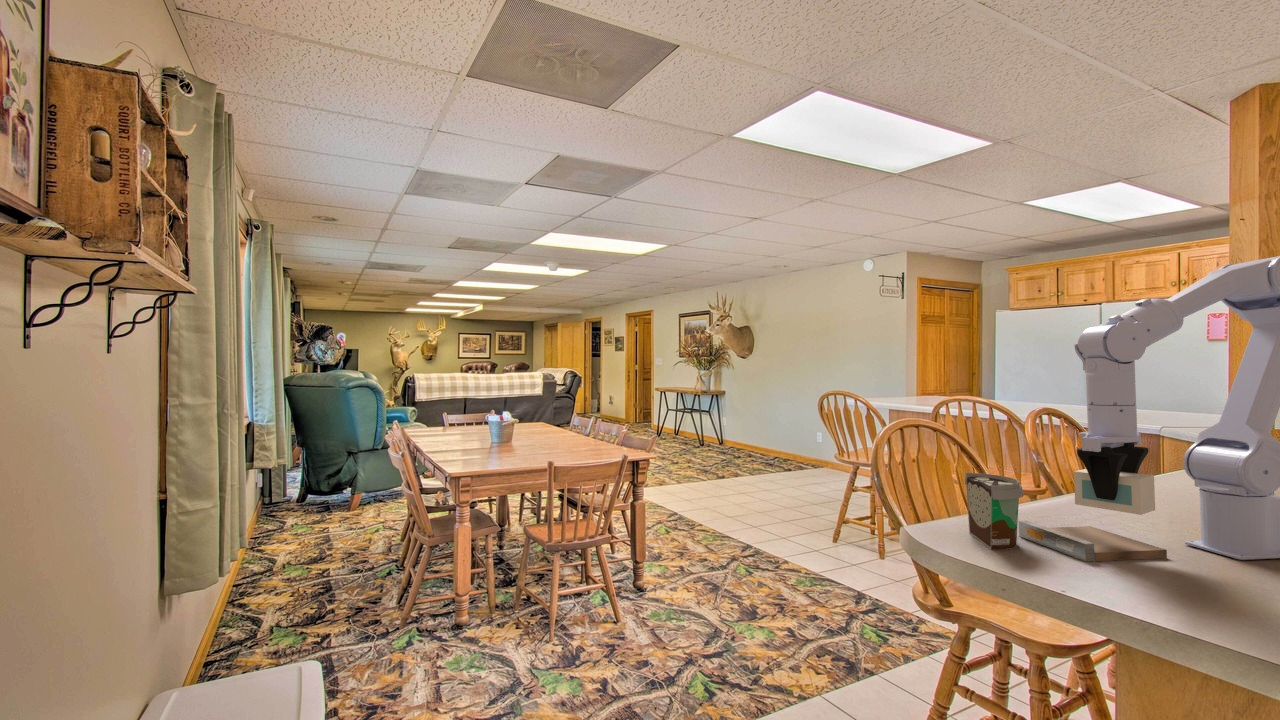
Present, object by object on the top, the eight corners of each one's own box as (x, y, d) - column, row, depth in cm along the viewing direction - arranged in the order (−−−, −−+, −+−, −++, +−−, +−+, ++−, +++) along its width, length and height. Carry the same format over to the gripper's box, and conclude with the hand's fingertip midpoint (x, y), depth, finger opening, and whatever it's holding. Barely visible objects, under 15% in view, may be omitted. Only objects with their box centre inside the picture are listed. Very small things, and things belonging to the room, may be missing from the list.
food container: (1040, 554, 86) (1038, 486, 86) (995, 552, 87) (993, 485, 87) (1005, 532, 98) (1004, 472, 98) (966, 530, 99) (964, 472, 99)
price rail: (1027, 535, 96) (1026, 520, 96) (1094, 561, 83) (1094, 543, 83) (1017, 536, 95) (1017, 521, 95) (1084, 561, 82) (1083, 543, 82)
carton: (1155, 510, 84) (1154, 475, 84) (1140, 514, 81) (1139, 479, 81) (1090, 500, 91) (1089, 468, 91) (1074, 504, 88) (1073, 471, 88)
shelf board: (1090, 533, 96) (1089, 526, 96) (1166, 558, 83) (1166, 549, 83) (1027, 535, 96) (1027, 528, 96) (1095, 561, 83) (1095, 552, 83)
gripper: (1101, 402, 93) (1103, 486, 93) (1056, 405, 86) (1059, 497, 86) (1156, 403, 87) (1160, 494, 87) (1114, 407, 80) (1117, 506, 80)
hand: (1114, 496), depth 86 cm, fingers closed on carton, 5 cm apart
